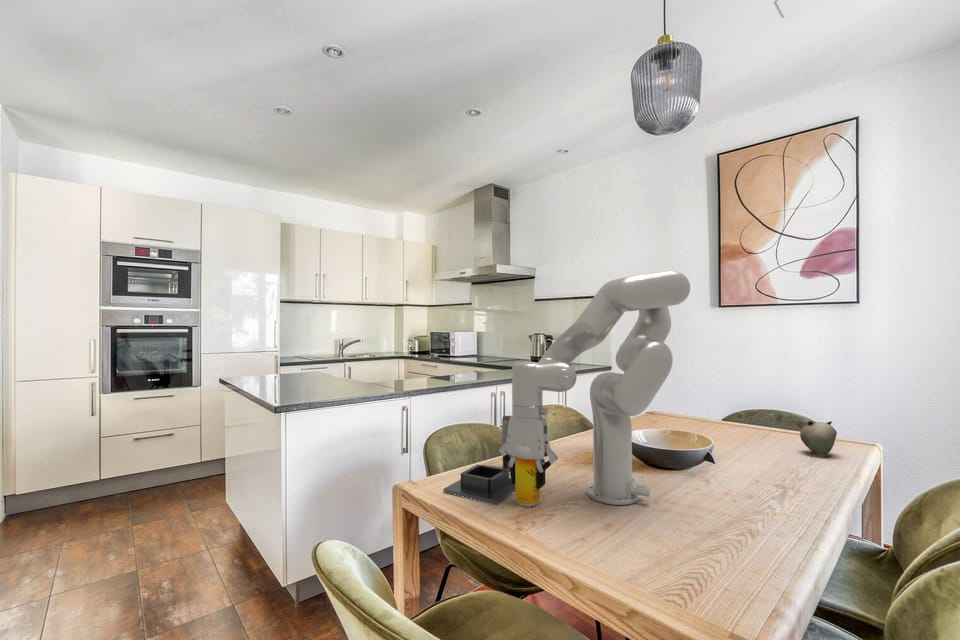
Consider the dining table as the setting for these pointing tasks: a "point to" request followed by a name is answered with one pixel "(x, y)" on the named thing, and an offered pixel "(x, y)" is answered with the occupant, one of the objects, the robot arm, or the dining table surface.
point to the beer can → (526, 477)
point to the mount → (483, 484)
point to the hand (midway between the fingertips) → (527, 484)
